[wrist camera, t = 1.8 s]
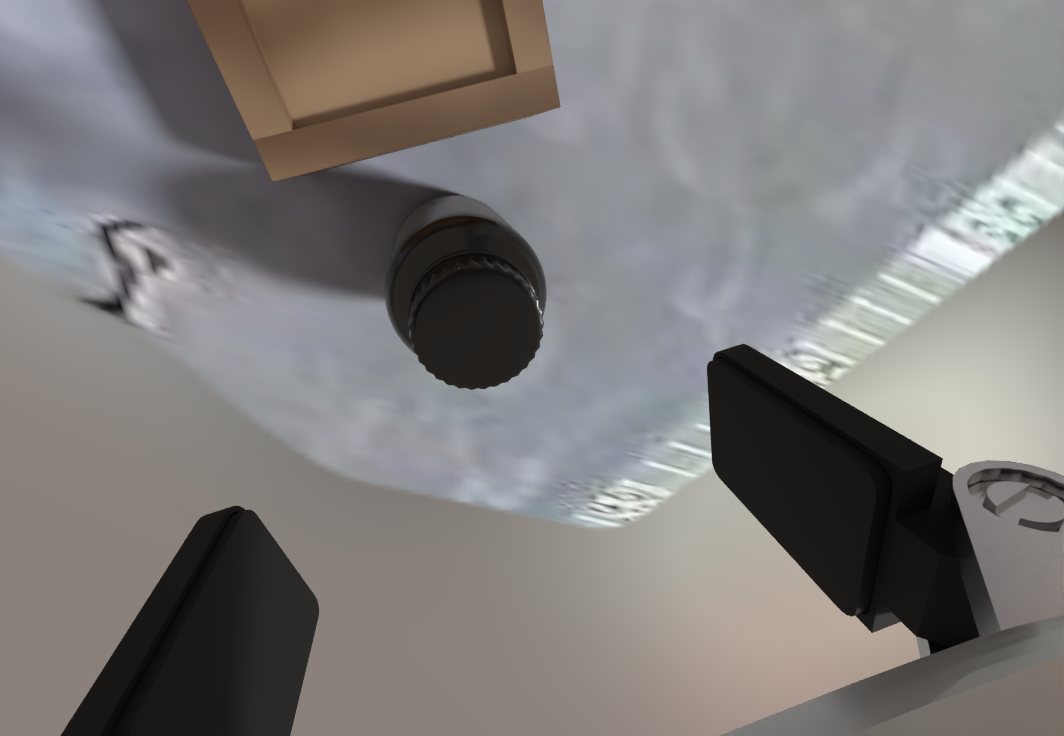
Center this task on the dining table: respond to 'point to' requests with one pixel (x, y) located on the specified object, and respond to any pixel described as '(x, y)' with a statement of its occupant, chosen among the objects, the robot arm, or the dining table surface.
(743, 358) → the robot arm
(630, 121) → the dining table surface
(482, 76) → the display plinth
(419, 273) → the supplement bottle
